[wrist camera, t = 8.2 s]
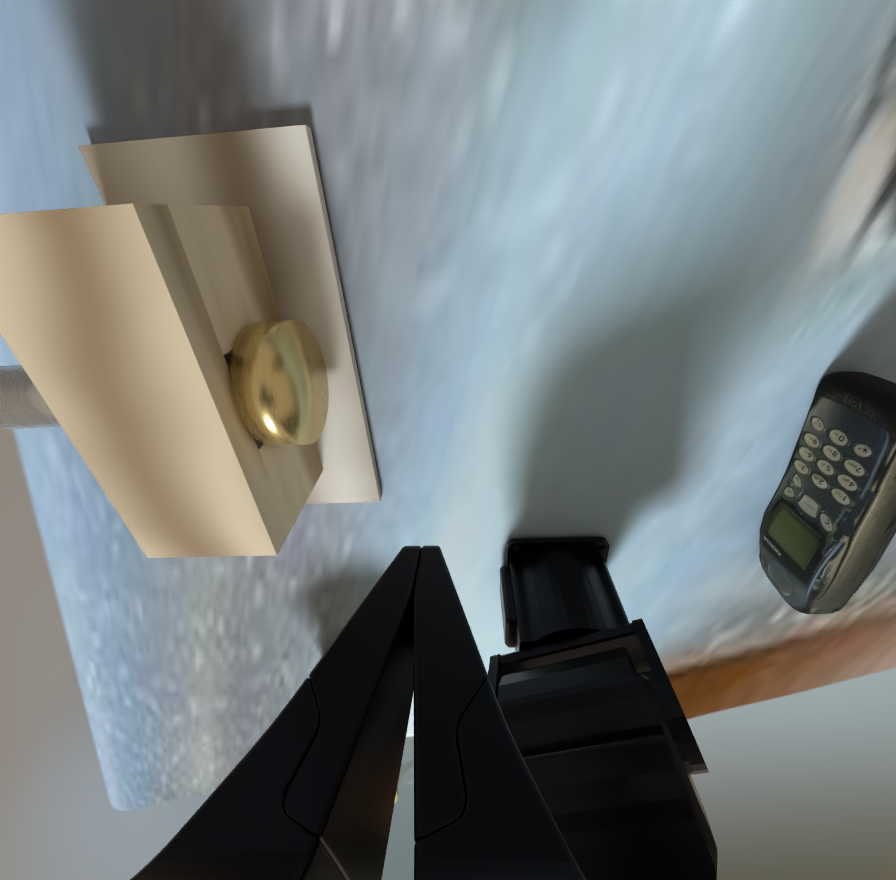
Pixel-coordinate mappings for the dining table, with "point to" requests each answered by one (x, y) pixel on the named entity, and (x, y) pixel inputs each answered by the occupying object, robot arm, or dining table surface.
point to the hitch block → (187, 334)
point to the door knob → (253, 380)
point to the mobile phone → (835, 496)
